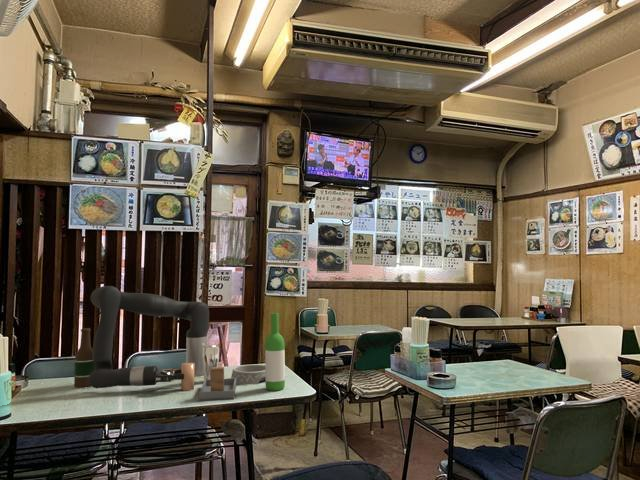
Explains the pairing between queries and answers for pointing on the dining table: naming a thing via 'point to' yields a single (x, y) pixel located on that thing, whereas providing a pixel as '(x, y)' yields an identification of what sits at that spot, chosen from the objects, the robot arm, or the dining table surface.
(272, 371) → the wine bottle
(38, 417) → the dining table surface
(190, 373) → the terracotta jar
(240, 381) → the dog bowl
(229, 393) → the tote
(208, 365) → the beer glass
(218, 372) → the walnut block
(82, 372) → the beer bottle
